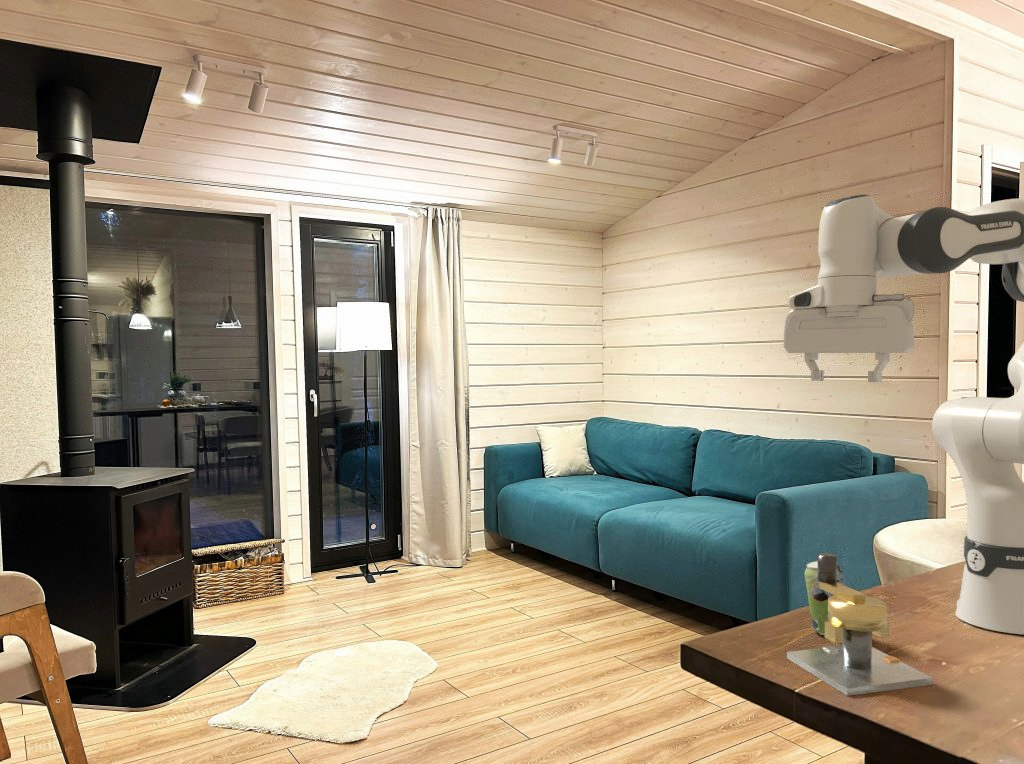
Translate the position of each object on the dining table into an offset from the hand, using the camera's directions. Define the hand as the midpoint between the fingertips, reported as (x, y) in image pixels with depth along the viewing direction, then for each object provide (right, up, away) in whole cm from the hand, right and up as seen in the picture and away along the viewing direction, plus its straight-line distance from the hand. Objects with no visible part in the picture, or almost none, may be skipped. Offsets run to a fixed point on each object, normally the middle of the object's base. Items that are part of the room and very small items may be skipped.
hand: (845, 381), depth 129 cm
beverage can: (-1, -42, +4) cm, 43 cm away
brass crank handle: (-4, -38, -10) cm, 39 cm away
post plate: (-3, -43, -12) cm, 45 cm away
